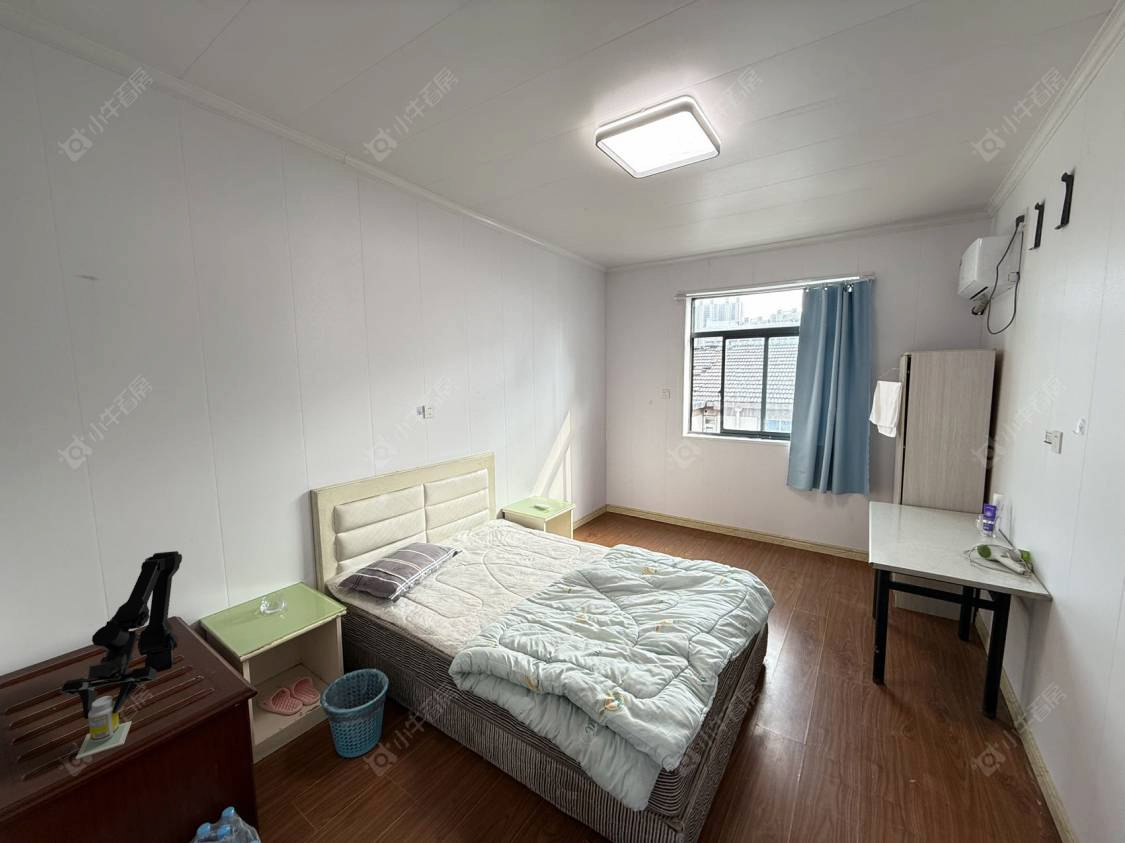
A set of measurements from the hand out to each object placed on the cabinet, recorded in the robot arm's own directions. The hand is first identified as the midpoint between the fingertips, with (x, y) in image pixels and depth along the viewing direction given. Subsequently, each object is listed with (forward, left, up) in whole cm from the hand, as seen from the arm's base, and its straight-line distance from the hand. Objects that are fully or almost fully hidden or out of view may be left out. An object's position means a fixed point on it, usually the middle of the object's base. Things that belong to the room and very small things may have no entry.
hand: (100, 716), depth 119 cm
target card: (0, -1, -8) cm, 8 cm away
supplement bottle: (0, -1, -7) cm, 7 cm away
